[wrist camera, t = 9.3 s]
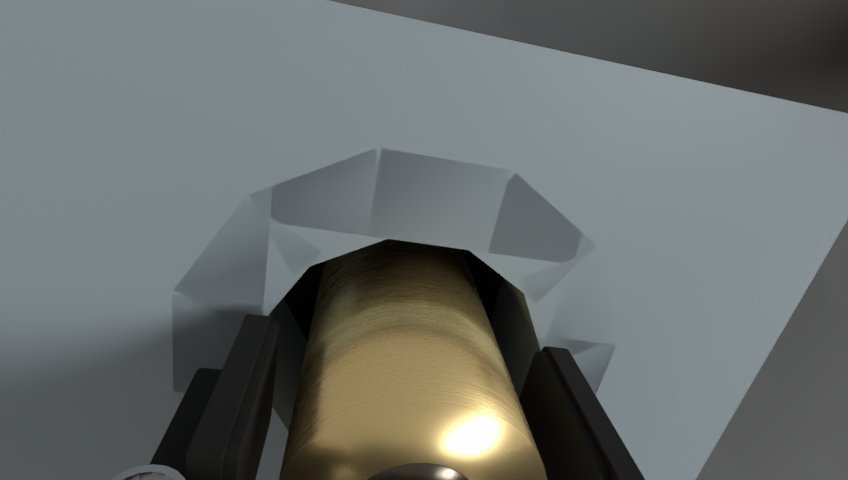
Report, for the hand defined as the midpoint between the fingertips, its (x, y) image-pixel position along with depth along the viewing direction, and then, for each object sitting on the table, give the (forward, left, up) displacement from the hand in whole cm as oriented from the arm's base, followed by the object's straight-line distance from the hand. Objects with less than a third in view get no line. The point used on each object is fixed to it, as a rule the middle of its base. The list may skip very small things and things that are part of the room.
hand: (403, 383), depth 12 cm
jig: (0, 0, -5) cm, 5 cm away
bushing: (0, 0, -5) cm, 5 cm away
